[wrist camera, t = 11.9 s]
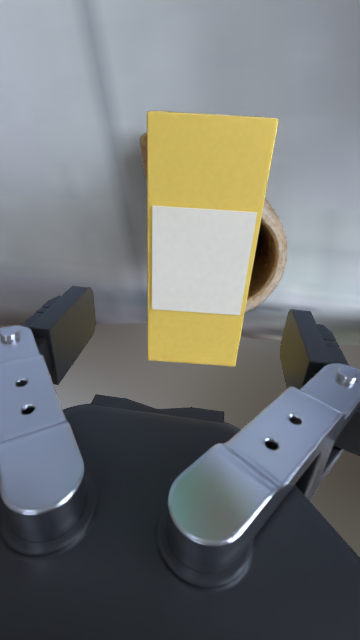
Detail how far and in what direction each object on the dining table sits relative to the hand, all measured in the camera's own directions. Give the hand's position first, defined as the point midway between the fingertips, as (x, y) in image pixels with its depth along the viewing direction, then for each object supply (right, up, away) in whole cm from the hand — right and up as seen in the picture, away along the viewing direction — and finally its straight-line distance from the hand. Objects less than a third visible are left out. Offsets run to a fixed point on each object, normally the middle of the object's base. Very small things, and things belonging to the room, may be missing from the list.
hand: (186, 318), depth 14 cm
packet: (+1, +5, +9) cm, 10 cm away
